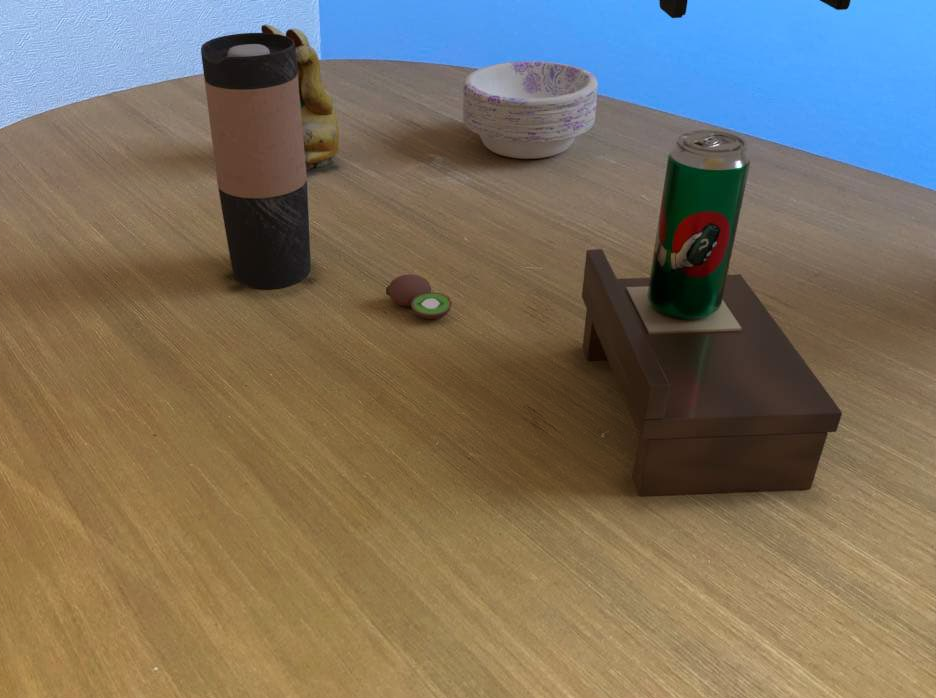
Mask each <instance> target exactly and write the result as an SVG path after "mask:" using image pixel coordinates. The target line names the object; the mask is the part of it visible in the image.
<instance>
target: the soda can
mask: <svg viewBox="0 0 936 698" xmlns="http://www.w3.org/2000/svg"><path fill="white" fill-rule="evenodd" d="M747 149H748V142H747V141H746V139H745V138H743V137H741V136H740V135H737V134H734V133H731V132H726V131H722V130H714V129H699V130H690V131H686V132H683V133H681V134H679V136H678V137H677V138H676V144H675V145H674V147H672V149H671V150H670V151H669V153H668V156H667V163H666V170H665V176H664V182H663V188H662V189H663V190H662V195H661V203H660V209H659V210H660V211H659V215H658V222H657V230H656V235H655V242H654V249H653V255H652V263H651V268H650V275H649V278H650V281H649V288H648V294H647V296H648V300H649V302H650V303H651V305H652V306H653V307H654V308H655V309H656V310H657V311H658V312H659V313H661V314H663V315H665V316H667V317H670V318H674V319H679V320H699V319H703V318H706V317H708V316H710V315H711V314H713V313H714V312H716V311H717V310H718V309H719V308H720V306H721V303H722V298H723V293H724V288H725V283H726V279H727V275H729V269H730V265H731V259H732V254H733V248H734V244H735V239H736V234H737V231H738V230H737V229H738V224H739V220H740V215H741V210H742V206H743V200H744V195H745V191H746V186H747V181H748V175H749V172H750V171H749V170H750V166H751V158H750V156H749V154H748V152H747Z"/></svg>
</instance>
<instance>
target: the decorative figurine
mask: <svg viewBox="0 0 936 698" xmlns="http://www.w3.org/2000/svg"><path fill="white" fill-rule="evenodd" d="M260 28H261V33H271V34H279V35H283V36H286V37H289V38H291V39H292V40H293V41H294V43H295V50H296V61H297V73H298V84H299V95H300V106H301V118H302V129H303V141H304V152H305V163H306V171H308V170H310V169H313V168H321V167H324V166H327V165H330V164H334V160H333V157H335V156H336V155H337V154H338V152H339V145H340V144H339V143H340V133H339V132H340V129H339V124H338V118H337V113H336V111H335V109H334V106H333V105H334V104H333V100H332V98H331V97H330V95H329V94H328V93H327V91H326V90H325V88H324V85H323V82H322V74H321V65H320V58H319V55H318V53H317V52H316V50H315V49H314V48H313V46H311V45H310V42H309V39H308V36H307V35H305V33H304V32H303V31H301V30H300V29H298V28H289V29H287V30H286V31H285V34H284V33H283V32H282V31H281V30H280V29H278V28H277V27H275V26H273V25H270V24H263V25H261V27H260Z"/></svg>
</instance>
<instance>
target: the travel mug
mask: <svg viewBox="0 0 936 698" xmlns="http://www.w3.org/2000/svg"><path fill="white" fill-rule="evenodd" d="M200 55H201V62H202V63H201V64H202V73H203V79H204V87H205V94H206V95H205V96H206V103H207V111H208V118H209V127H210V135H211V143H212V151H213V157H214V158H213V159H214V165H215V167H214V168H215V174H216V175H215V176H216V182H217V189H218V194H219V201H220V208H221V213H222V218H223V224H224V230H225V236H226V243H227V249H228V252H229V253H228V254H229V260H230V266H231V272H232V274H233V275H232V276H233V278H234V279H235V281H236V282H237V283H239V284H240V285H242V286H245V287H248V288H252V289H257V290H274V289H275V290H276V289H281V288H287V287H291V286H293V285H296V284H298V283H300V282H302V281H303V280H305V279H306V278H307V277H308V275H309V274H310V272H311V265H312V264H311V242H310V241H311V239H310V217H309V216H310V215H309V197H308V195H309V194H308V180H307V179H308V176H307V170H306V163H305V152H304V141H303V129H302V118H301V106H300V95H299V84H298V73H297V61H296V50H295V43H294V41H293V40H292V39H291V38H289V37H286V35H285V36H283V35H279V34H271V33H262V32H243V33H234V34H228V35H223V36H218V37H215V38H212V39H209V40H207V41H206V42H204V43H203V44H202V45H201V47H200Z"/></svg>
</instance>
